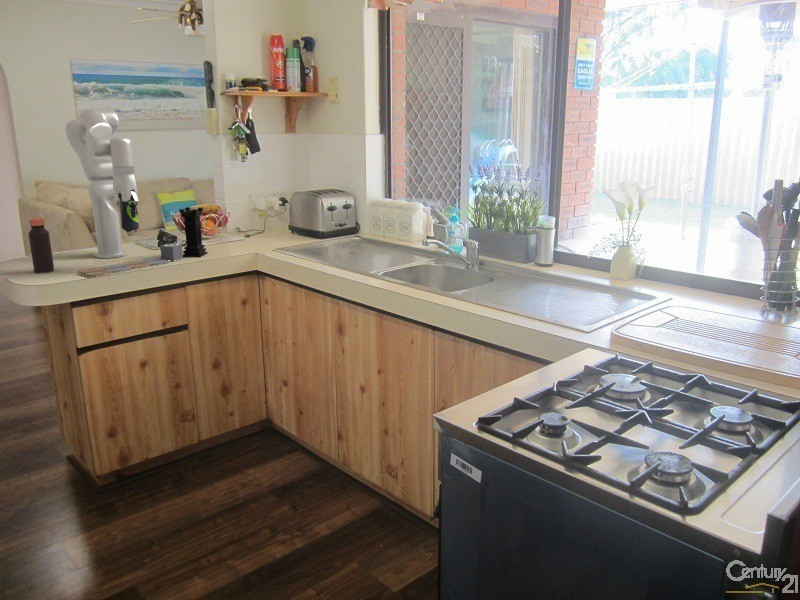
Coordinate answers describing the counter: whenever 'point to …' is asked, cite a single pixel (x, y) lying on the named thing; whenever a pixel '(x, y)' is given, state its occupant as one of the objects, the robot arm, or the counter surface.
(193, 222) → the chess piece
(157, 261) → the board
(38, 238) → the bottle
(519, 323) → the counter surface
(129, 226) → the beverage can
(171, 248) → the die
